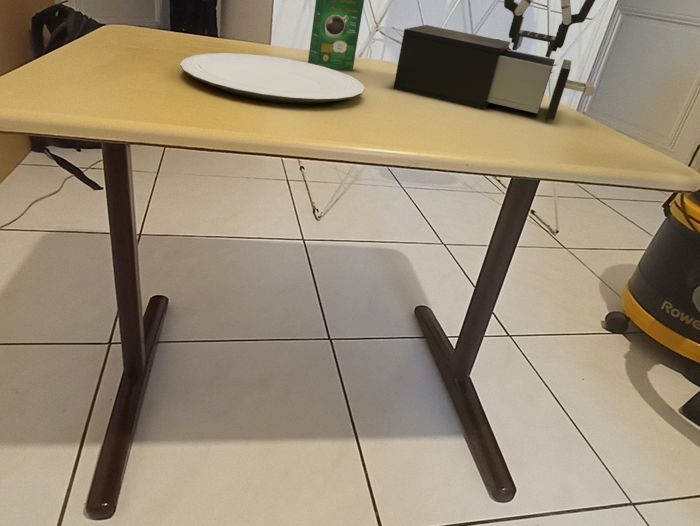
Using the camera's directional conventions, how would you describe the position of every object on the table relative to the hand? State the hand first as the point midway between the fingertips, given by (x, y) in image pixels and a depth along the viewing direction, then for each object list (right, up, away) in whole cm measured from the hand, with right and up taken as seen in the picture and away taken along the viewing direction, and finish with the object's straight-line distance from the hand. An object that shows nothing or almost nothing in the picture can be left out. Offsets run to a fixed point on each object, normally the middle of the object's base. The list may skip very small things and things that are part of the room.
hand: (534, 46), depth 85 cm
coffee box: (-31, 0, +11) cm, 33 cm away
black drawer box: (-12, -5, +7) cm, 15 cm away
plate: (-39, -9, -7) cm, 40 cm away
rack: (0, -1, 0) cm, 1 cm away
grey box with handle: (0, -8, +4) cm, 9 cm away
